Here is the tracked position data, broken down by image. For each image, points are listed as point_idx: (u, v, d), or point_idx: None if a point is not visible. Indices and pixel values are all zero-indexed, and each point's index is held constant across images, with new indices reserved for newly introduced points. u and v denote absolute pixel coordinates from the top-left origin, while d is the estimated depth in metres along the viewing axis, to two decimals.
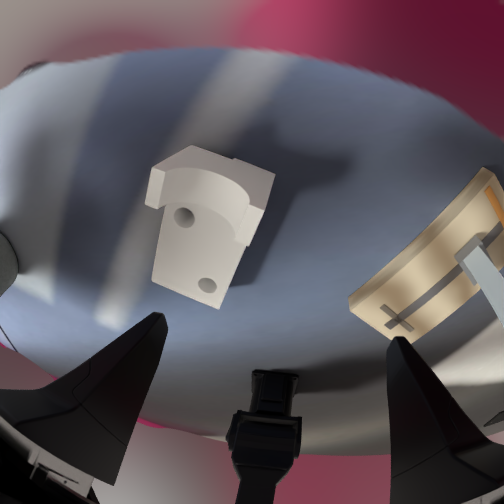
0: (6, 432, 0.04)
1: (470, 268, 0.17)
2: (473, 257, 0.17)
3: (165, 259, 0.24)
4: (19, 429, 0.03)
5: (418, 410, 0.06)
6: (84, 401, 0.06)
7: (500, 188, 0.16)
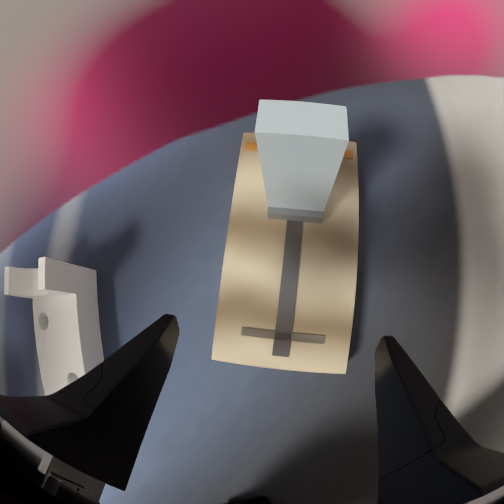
0: (15, 440, 0.04)
1: None
2: None
3: (45, 368, 0.19)
4: (32, 439, 0.03)
5: (404, 411, 0.06)
6: (98, 407, 0.06)
7: None
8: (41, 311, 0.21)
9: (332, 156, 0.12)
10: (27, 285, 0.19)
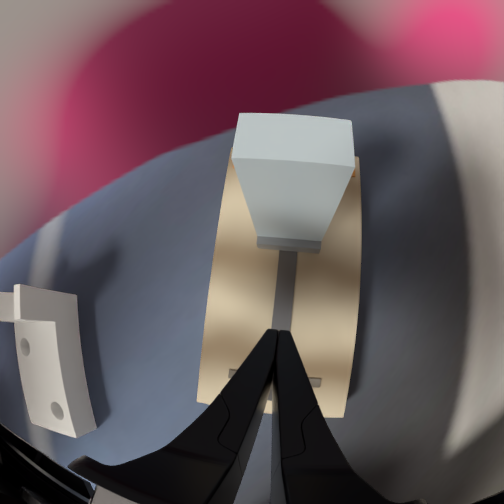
0: None
1: None
2: None
3: (28, 394, 0.17)
4: None
5: (276, 411, 0.07)
6: (239, 449, 0.05)
7: None
8: (22, 336, 0.18)
9: (333, 185, 0.10)
10: (7, 310, 0.16)
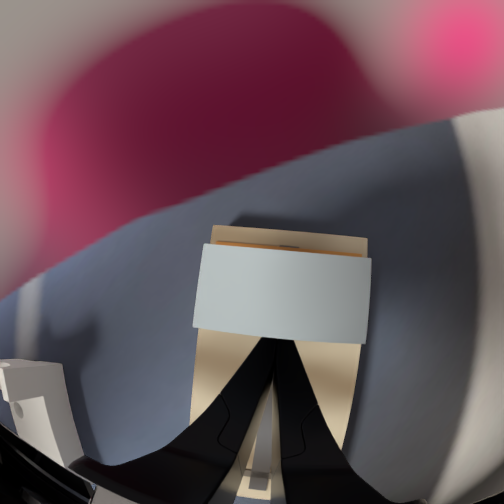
0: None
1: None
2: None
3: None
4: None
5: (276, 411, 0.07)
6: (239, 449, 0.05)
7: (237, 229, 0.18)
8: None
9: None
10: None
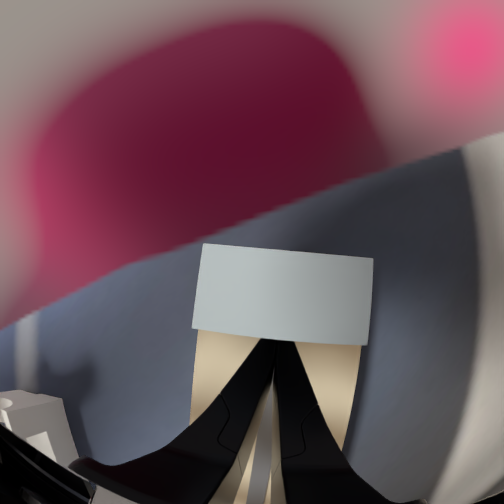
0: None
1: None
2: None
3: None
4: None
5: (276, 411, 0.07)
6: (239, 449, 0.05)
7: None
8: None
9: None
10: None
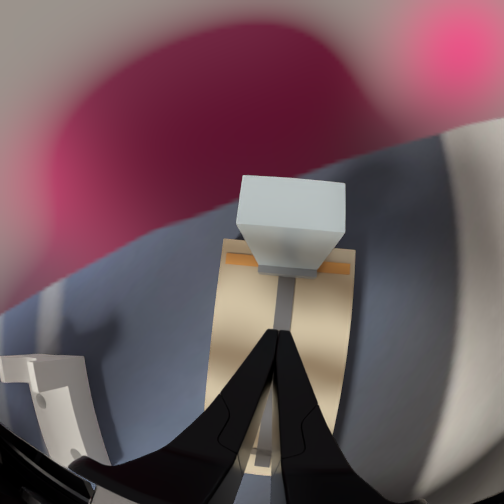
0: None
1: None
2: None
3: (48, 439, 0.18)
4: None
5: (276, 411, 0.07)
6: (239, 449, 0.05)
7: (245, 242, 0.21)
8: None
9: (326, 241, 0.11)
10: (21, 373, 0.17)
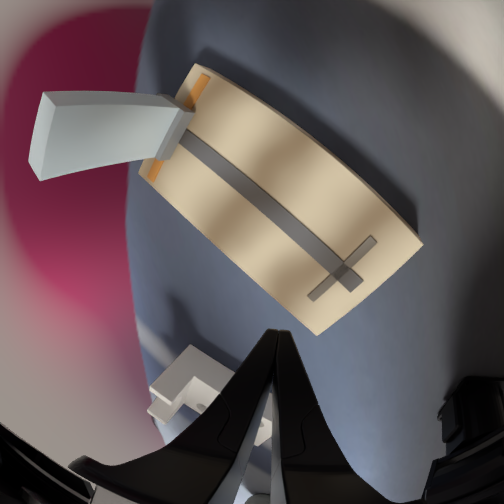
0: None
1: (139, 157, 0.17)
2: None
3: None
4: None
5: (276, 411, 0.07)
6: (239, 449, 0.05)
7: None
8: (195, 404, 0.28)
9: (79, 114, 0.10)
10: (169, 404, 0.26)
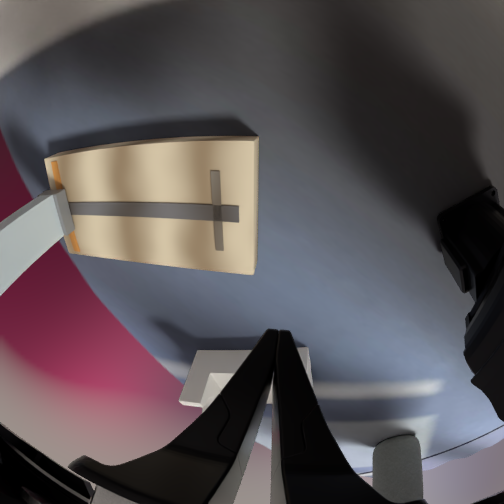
0: None
1: (53, 242, 0.20)
2: None
3: None
4: None
5: (276, 411, 0.07)
6: (239, 449, 0.05)
7: (65, 238, 0.23)
8: None
9: None
10: None
